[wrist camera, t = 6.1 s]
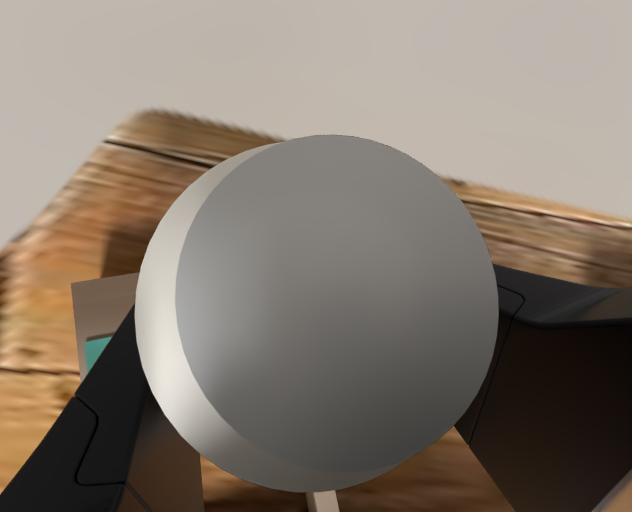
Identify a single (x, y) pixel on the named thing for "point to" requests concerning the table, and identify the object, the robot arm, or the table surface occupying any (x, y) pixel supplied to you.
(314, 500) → the socket block
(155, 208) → the table surface
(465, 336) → the plug
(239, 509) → the table surface
